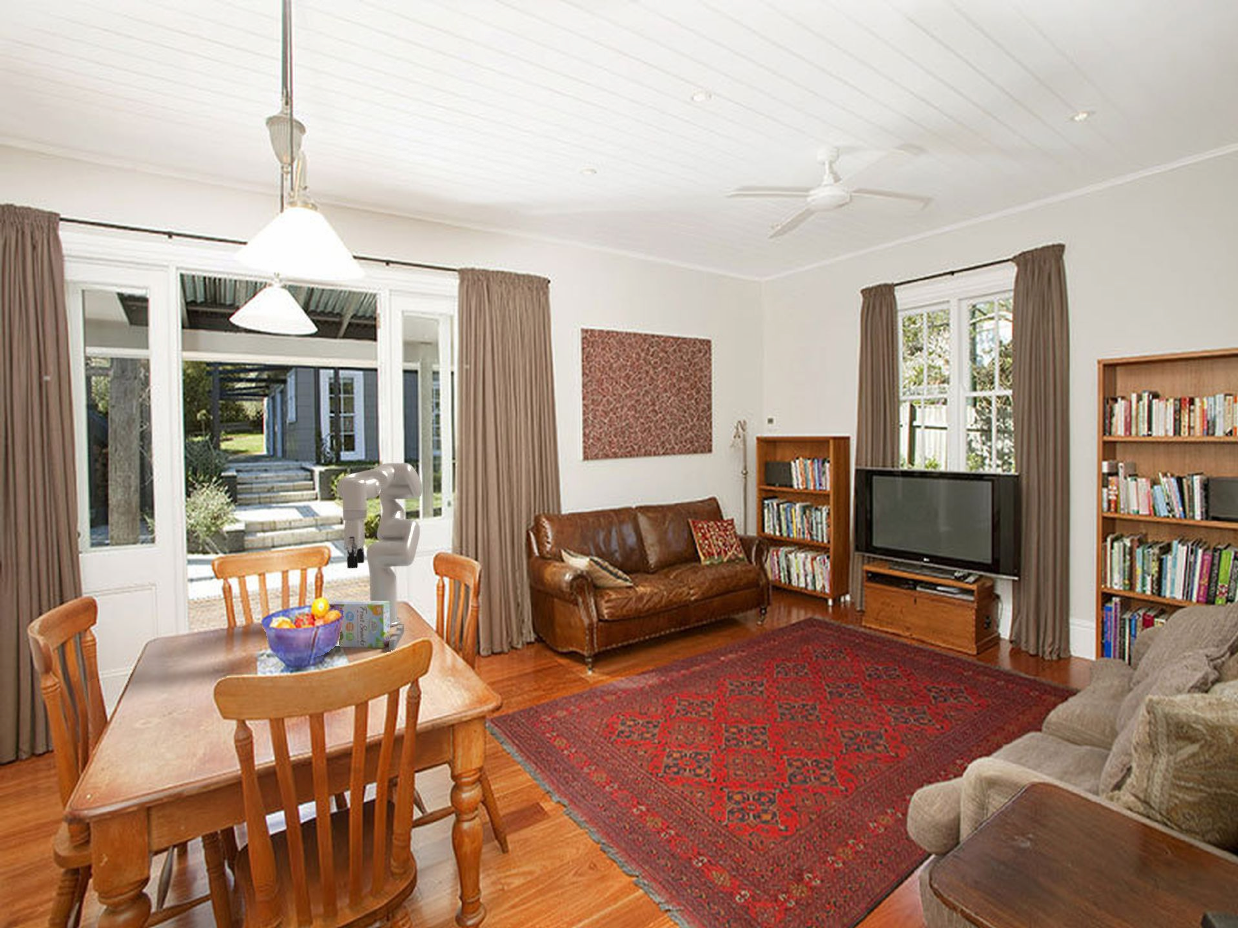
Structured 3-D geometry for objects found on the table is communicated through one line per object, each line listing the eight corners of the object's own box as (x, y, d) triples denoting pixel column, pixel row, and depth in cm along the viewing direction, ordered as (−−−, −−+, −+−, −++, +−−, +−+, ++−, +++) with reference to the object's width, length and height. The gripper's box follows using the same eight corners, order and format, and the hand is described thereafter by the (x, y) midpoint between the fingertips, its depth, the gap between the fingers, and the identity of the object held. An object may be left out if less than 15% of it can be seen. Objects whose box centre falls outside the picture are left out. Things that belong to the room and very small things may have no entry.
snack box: (391, 643, 218) (390, 600, 218) (383, 648, 213) (382, 604, 212) (332, 642, 221) (331, 599, 220) (323, 647, 215) (322, 603, 215)
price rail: (399, 632, 232) (399, 623, 231) (404, 631, 232) (404, 623, 232) (388, 651, 210) (388, 641, 210) (394, 650, 210) (394, 641, 210)
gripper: (349, 513, 223) (350, 561, 224) (336, 518, 206) (337, 570, 207) (371, 512, 225) (372, 560, 225) (361, 517, 208) (362, 569, 208)
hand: (355, 565), depth 216 cm, fingers open, 9 cm apart
